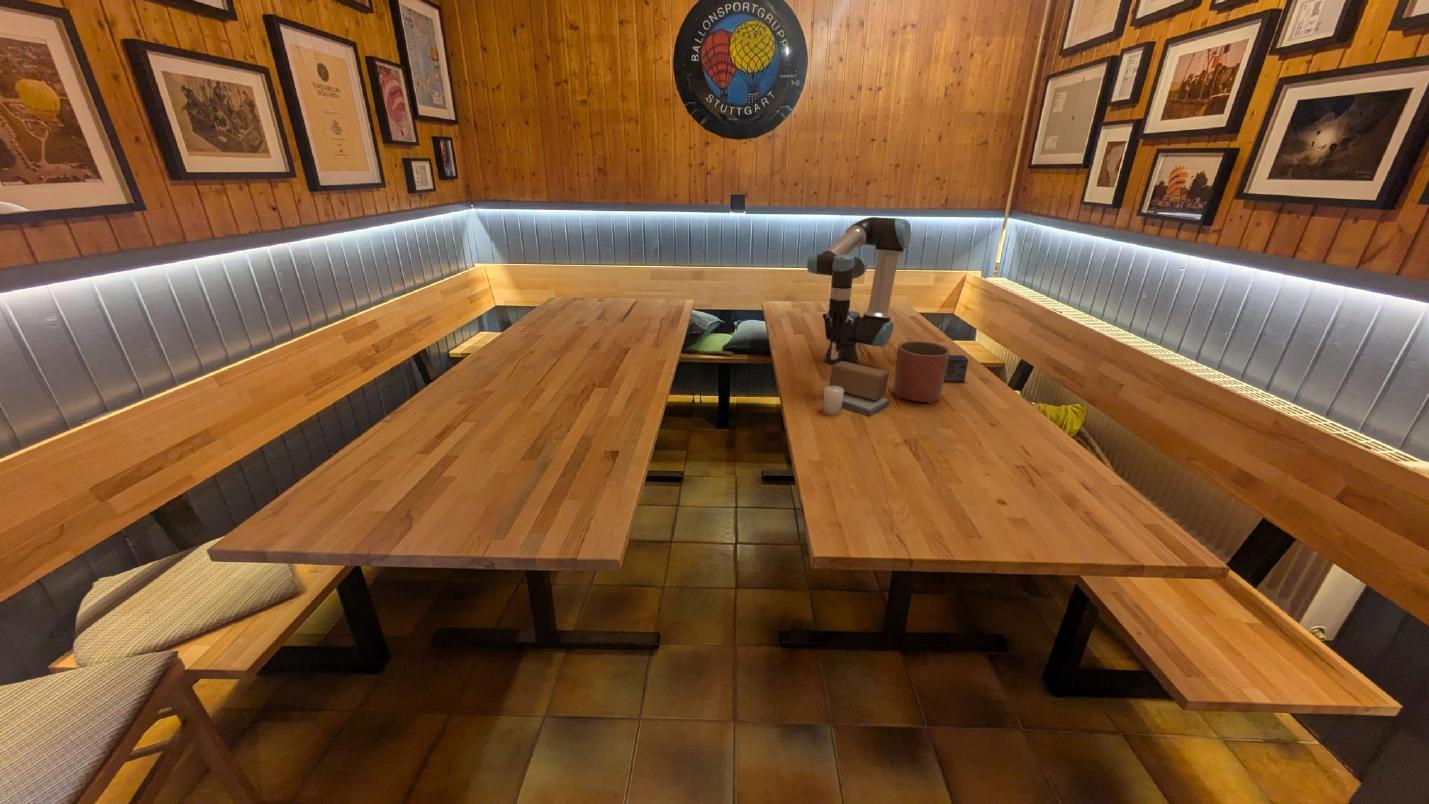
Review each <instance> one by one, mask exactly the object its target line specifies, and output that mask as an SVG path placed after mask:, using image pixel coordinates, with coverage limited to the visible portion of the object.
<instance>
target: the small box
mask: <svg viewBox="0 0 1429 804" xmlns="http://www.w3.org/2000/svg"><path fill="white" fill-rule="evenodd" d="M968 364H969V358H967V357H966V356H965V355H964V354H963V355H960V354H949V359H948V364H947V368H946V373H945V377H944V381H943V383H962V384H965V381H966V374H967V370H968Z"/></svg>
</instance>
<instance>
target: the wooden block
mask: <svg viewBox="0 0 1429 804" xmlns="http://www.w3.org/2000/svg"><path fill="white" fill-rule="evenodd" d="M889 375H890V374H889V371H887V370H884V369H879V368H875V367H871V366H866V365H860V364H858V363H857V364H854V363H849V362H845V361H841V362H839V363H836V364H833V365H831V371H830V377H829V384H828V386H839V387H842V388H843V389H844V392H845V393H849V394H853V395H857V396H860V397H864V398H868V399H872V400H877V399H879V398H883V397H884V396H885V395H886V389H887V386H888V380H889Z"/></svg>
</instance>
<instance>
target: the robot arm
mask: <svg viewBox="0 0 1429 804" xmlns="http://www.w3.org/2000/svg"><path fill="white" fill-rule="evenodd" d="M911 236H912V231H911V225H910V223H909V221H908V220H907V219H903V218H897V217H895V218H891V217H875V216H873V217H872V216H871V217H870V216H869V217H867V218H864V219H861V220H858V221H857V222H855V223H852V225H850V226H849V227H848V228H847V229H846V230H845V232H844V234H843V235H842V236H841V237H840V238H838V239H837V240H836V241H835V242H833V243H832V244H831V245H829V246H828V248H827V247H826V249H825V250H824V251H822V252H821V254H819V253H812V254H810V255H809V256H808V258H807V261H806V269H807V271H808V272H809V273H810V274H815V275H820V276H829V277H830V276H831V282H830V283H831V285H830V296H829V297H830V298H829V303H828V307H829V310H828V311H827V313H824V314H822V318H823V320H824V329H825V338H826V340H828V341H829V347H828V348H827V351H826V352H825V353H826V354H825V357H824V361H825V362H826V363H827V364H829V365H831V366H833V364H836V363H839V362H841V361H845V362H849V363H854V364H858V363H859V356H858V349H857V344H861V345H862V344H863V345H867V346H868V345H869V346H872V347H880V348H882V347H885V346H886V345H887V344H888V343H889V341H890V339H891V337H892V335H893V331H894V326H895V325H894V322H893V321H891V315H890V314H889V308H890V303H891V297H892V293H893V286H894V282H895V277H896V273H897V272H896V271H897V268H898V267H897V266H898V261H899V257H900V256H901V255H902V254H903V253H904V250H905V249H908V247H909V246H910V243H911V239H912V238H911ZM863 246H875V248H874V249H875V250H874V251H875V252H876V253H877V258H876V263H875V268H874V275H873V279H872V286H871V290H870V291H871V292H870V296H869V302H868V307H867V308H868V309H867V311H865V312H864V313H863V314H862V315H863V316H860V312H858V311H854V310H853V311H852V310H850V307H851V297H852V288H853V287H852V285H853V280H854V279H857V278H858V279H859V278H860V277H862V276H863V275H864V274H865V273H866V271H867V268H868V264H867V261H866V260H865V258H863V257H862V256H853V255H850V254H851V253H852V252H853V251H855V250H856V249H857V248H861V247H863Z"/></svg>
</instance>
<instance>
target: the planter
mask: <svg viewBox="0 0 1429 804" xmlns="http://www.w3.org/2000/svg"><path fill="white" fill-rule="evenodd" d="M949 355H951V350H950V349H949V348H948V347H947V346H945V345H944V344H939V343H937V342H932V341H925V340H924V341H923V340H908V341H903V342H900V343H899V344H898V345H897V352H896V361H895V368H894V369H895V370H894V380H893V390H892V391H893V393H894V396H895V397H896V398H897V399H898V400H901V399H904V400H908V401H913V402H920V403H922V402H923V403H924V402H925V403H927V404H928V405H929V404H930V405H931V404H933V403H935V402H937V401H938V400H939V399H940V398H941V393H942V389H943V386H944V382H943V381H944V377H945V373H946V368H947V364H948V359H949Z"/></svg>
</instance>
